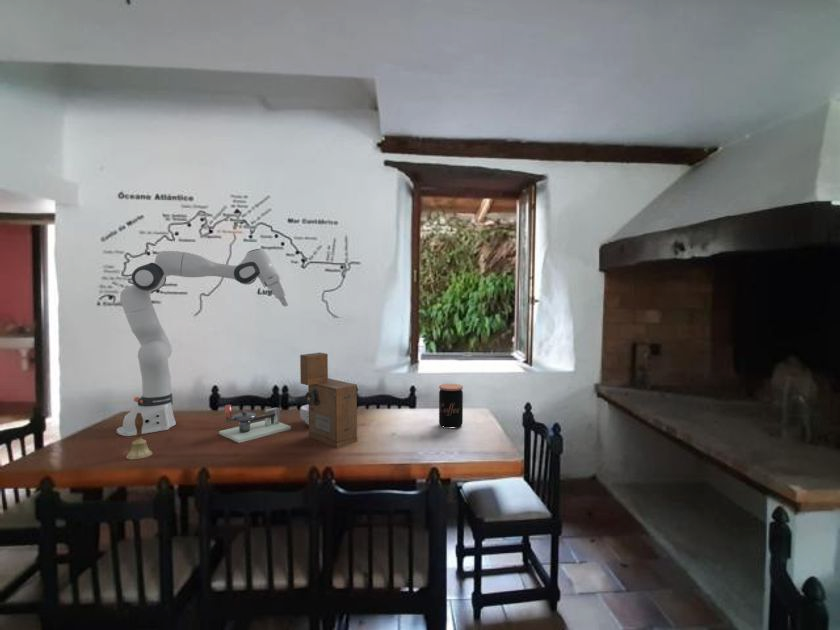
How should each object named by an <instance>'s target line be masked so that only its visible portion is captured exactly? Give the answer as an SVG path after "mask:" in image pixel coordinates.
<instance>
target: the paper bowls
mask: <svg viewBox="0 0 840 630" xmlns="http://www.w3.org/2000/svg"><path fill="white" fill-rule="evenodd" d="M299 408H300V411H299V413H300V419H301V420H302V421H304V422H305V424H306V425H308V426H309V405H308V404H303V405H302V406H301V407H299Z"/></svg>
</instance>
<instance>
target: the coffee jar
mask: <svg viewBox="0 0 840 630" xmlns="http://www.w3.org/2000/svg"><path fill="white" fill-rule="evenodd" d="M438 388H439V391H438V393H439V394H438V422H439V425H440V427H442V426H444V427H459V426H461V427H462V425H463V422H464V421H463V417H464V416H463V415H464V414H463V411H464V409H463V407H464V405H463V404H464V401H463V400H464V399H463V398H464V395H463V393H464V392H463V388H464V386H463V385H461V384H457V383H443V384H439V387H438ZM444 427H443V428H444ZM459 428H460V427H459Z"/></svg>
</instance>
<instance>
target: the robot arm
mask: <svg viewBox="0 0 840 630" xmlns="http://www.w3.org/2000/svg"><path fill="white" fill-rule="evenodd" d="M169 276H176V277H182V278H183V277H184V278H203V277H219V278H225V279H232V280H235V281H237V282H238V283H240V284H242V285H246V286H247V285H251V284H253V283H255V282H256V280H257V278H258V279H259V280H260V282H261V284H262V285H263V288H267V289H268V290H271V292H272V294H273V295H274V297H275V299H278V300H279V302H280V304H281V305H282V307H285V308H286V307H288V305H289V304H288V302H287V300H286V298H285V297H286V293H285V291H284V288H283V286H282V283H281V280H282V277H281V276H280V274H279V272H278V271H277V269H276V268H275V267H274V265H273V261H272V260H271V258H270V256H269V255H268V254H267V252H266V251H265V250H264V249H262V248H255V249H252V250H249V251H248V252H246V254H245V256H244V257H243V259H242V260H241V262H239V264H238V265H233V264H231V265H230V264H224V263H219V262H215V261H212V260H210V259H207V258H205V257H204V256H201V255H199V254H195V253H191V252H187V251H179V250H178V251H177V250H176V251H175V250H162V251H159V252H158V253H157V255H156V256H155V259H154V262H149V263H146V264H143V265H141V266H138V267H136V269H134V270H133V272H132V274H131V281H132V285H130V286H127V287H124V288H123V289H122V290H121V292H120V300H121V305H122V309H123V312H124V314H125V318H126V320H127V322H128V324H129V327H130V329H131V330H130V331H131V332H132V333H133V334H134V336H135V337H136V339H137V341H138V343H139V345H140V347H139V349H138V351H137V359H138V363H139V364H138V365H139V369H140V375H141V376H140V377H141V384H142V385H141V386H142V387H141V388H142V392H141V393H142V395H141V396H140V397H138V396H136V397H134V398H133V401H134V402H136V403H137V406H136V407H135V408H133V409H132V410H131V411H129V412H128V413H127V414H125V416H124V418H123V421H122V426H120V427H118V428H116V434H118V435H120V436H123V437H132V436H133V437H134V436H137V429H136V426H135V418H136V415H137V413H141V415H142V417H143V426H142V435H144V434H149V433H156V432H161V431H167V430H169V429H170V428H172V427H175V425H176V424H177V422H176V419H175V415H174V412H173V410H174V409H173V402H174V399H173V393H172V383H171V382H172V381H171V374H170V367H169V360H168V359H169V358H170V357H171V355H172V352H173V348H172V344H171V343H170V341H169V338H168V337H167V336H168V335H166V332H165V330H164V328H163V326H162V325H161V323H160V320H159V318H158V315H157V312H156V310H155V308H154V307H155V306H154V305H153V301H152V300H151V294H153V293H155V292H157V291H158V290H161V288H163V287H164V285H165V284H166V281H167V277H169Z"/></svg>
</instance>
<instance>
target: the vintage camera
mask: <svg viewBox="0 0 840 630" xmlns="http://www.w3.org/2000/svg"><path fill="white" fill-rule="evenodd" d="M299 358H300V365H299V366H300V368H299V369H300V374H299V375H300V384H302V385H305V386H308V391H307V392H306V393H305V402H306V405H309V425H308V438H311V439H313V440H315V441H318V442H321V443H323V442H324V443H323V444H327V445H329V446H332V447H335V448H336V447H337V449H338V448H341V447H344V446H347V445H350V444H353V443H356V441H357V442H358V422H357V421H358V418H357V417H358V414H357V413H358V407H357V405H358V404H357V401H358V400H357V398H358V395H357V393H358V392H357V389H358V388H357V385H358V384H357V383H351V382H346V381H342V380H338V379H337V380H336V379H332V378H329V377H328V376H329V373H328V372H329V369H328V367H329V366H328V365H329V362H328V361H329V360H328V358H329V357H328V353H325V352H314V353H306V354H305V353H304V354H300V355H299ZM352 442H353V443H352ZM349 443H350V444H349ZM346 444H347V445H346Z"/></svg>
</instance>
